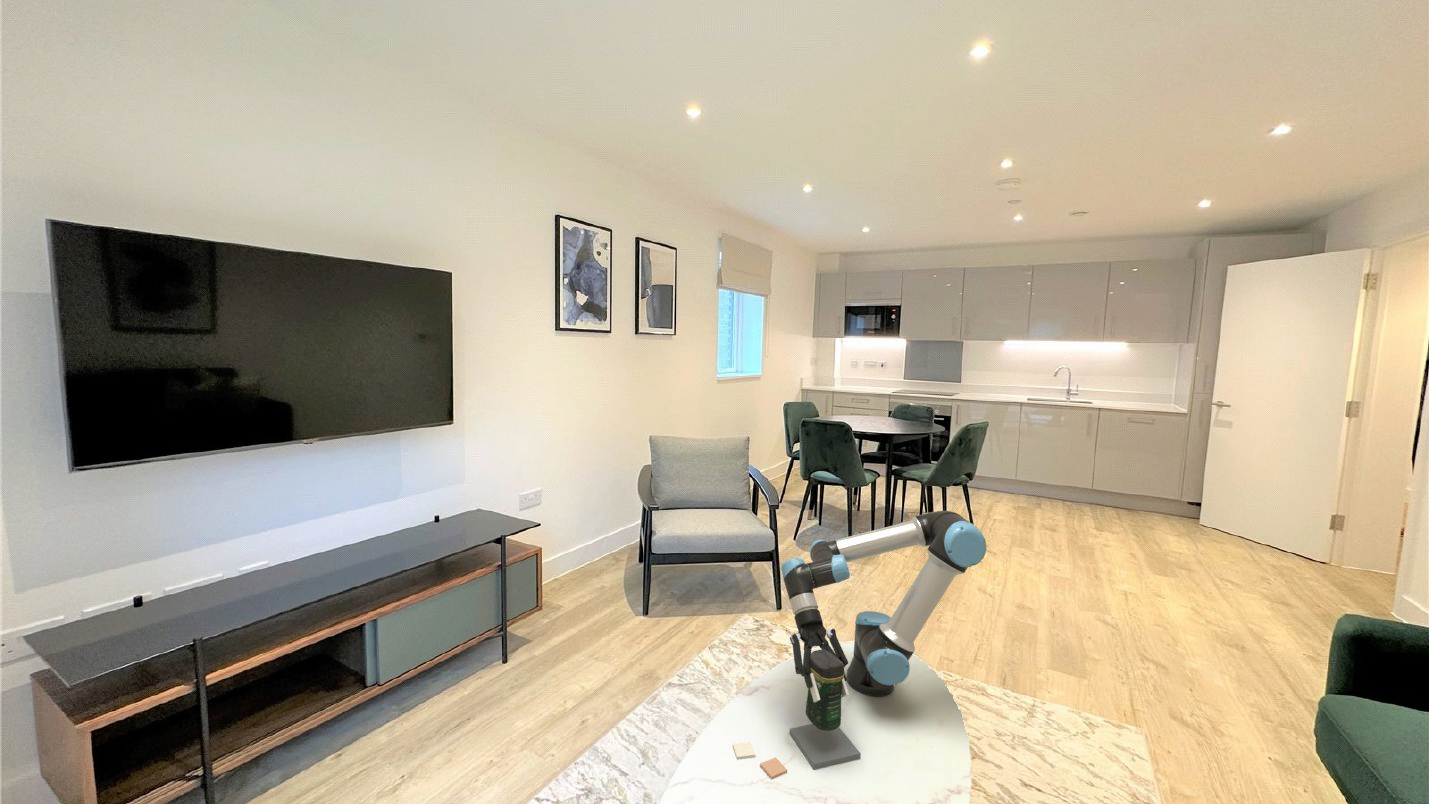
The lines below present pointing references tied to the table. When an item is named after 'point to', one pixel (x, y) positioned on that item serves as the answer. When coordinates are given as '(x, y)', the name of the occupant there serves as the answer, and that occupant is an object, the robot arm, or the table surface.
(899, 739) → the table surface
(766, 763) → the tile
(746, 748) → the tile
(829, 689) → the coffee jar
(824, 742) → the slate plate
